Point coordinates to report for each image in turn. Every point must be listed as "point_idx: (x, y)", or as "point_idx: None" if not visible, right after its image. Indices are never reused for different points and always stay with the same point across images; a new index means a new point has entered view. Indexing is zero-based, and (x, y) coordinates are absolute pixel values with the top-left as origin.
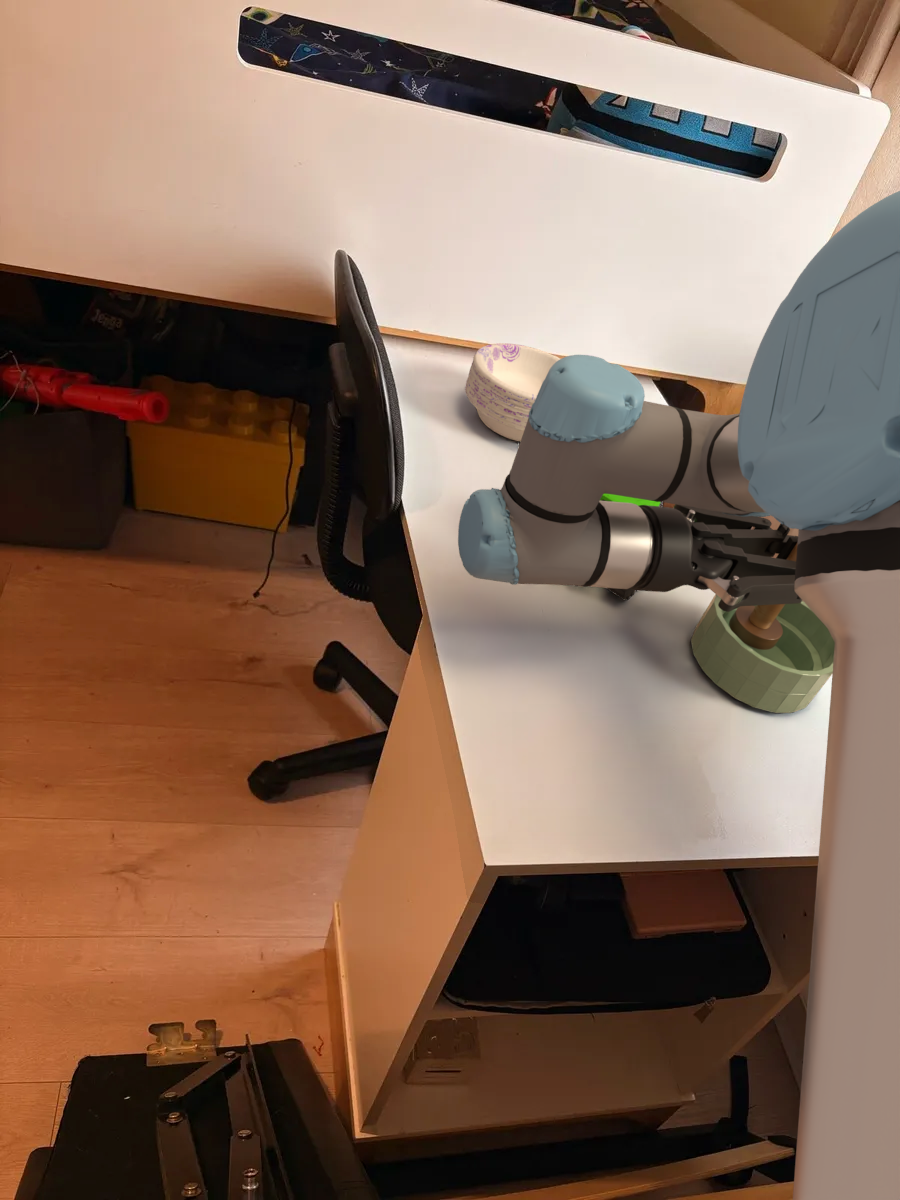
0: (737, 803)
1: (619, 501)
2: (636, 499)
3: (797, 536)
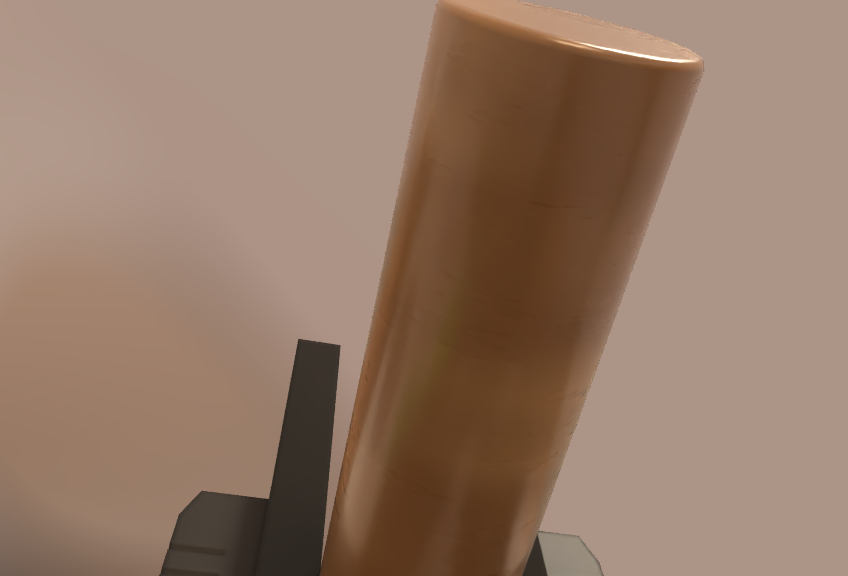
0: None
1: None
2: None
3: (174, 552)
